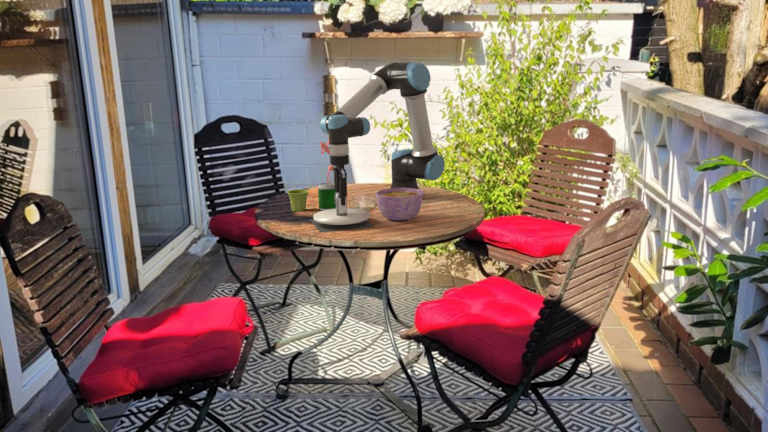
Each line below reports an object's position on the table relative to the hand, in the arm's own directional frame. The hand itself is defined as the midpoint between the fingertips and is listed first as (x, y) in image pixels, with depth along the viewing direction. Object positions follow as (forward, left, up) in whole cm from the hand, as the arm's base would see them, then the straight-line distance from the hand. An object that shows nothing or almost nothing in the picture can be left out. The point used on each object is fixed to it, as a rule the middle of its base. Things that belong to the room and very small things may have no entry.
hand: (341, 211), depth 289 cm
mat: (0, 0, -5) cm, 5 cm away
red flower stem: (-10, -51, -6) cm, 52 cm away
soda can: (0, -27, -6) cm, 27 cm away
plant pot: (+12, -32, -6) cm, 35 cm away
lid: (0, 0, -3) cm, 3 cm away
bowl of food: (-25, 0, -6) cm, 25 cm away
